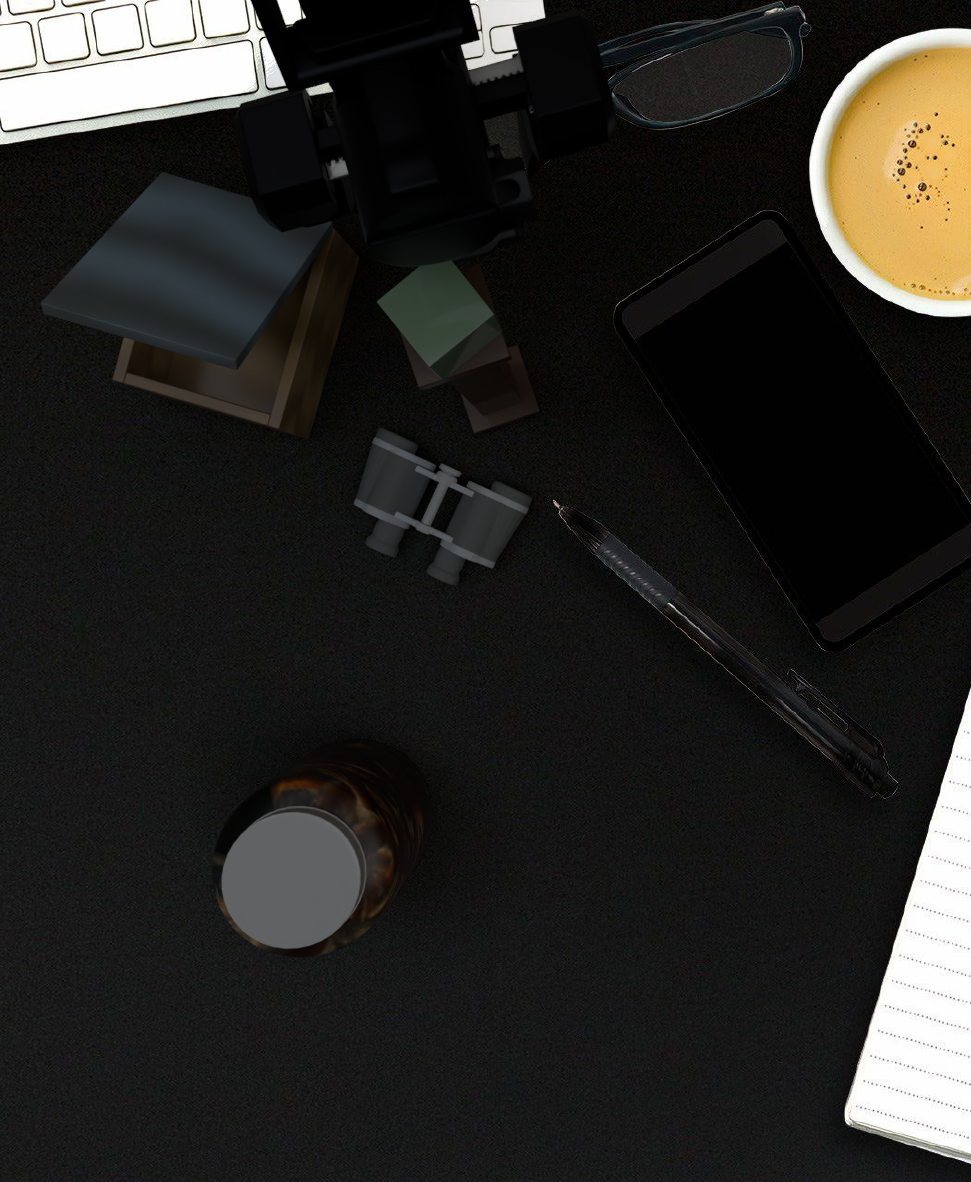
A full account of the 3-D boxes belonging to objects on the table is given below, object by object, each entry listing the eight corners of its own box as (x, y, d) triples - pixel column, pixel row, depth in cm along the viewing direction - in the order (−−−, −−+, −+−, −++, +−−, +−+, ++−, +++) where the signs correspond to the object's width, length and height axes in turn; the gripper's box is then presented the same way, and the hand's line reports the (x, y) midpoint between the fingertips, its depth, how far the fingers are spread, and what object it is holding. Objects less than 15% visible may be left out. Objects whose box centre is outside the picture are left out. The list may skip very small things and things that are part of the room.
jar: (296, 719, 77) (219, 759, 62) (450, 760, 77) (410, 810, 62) (257, 873, 78) (172, 950, 63) (410, 914, 78) (361, 1001, 63)
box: (308, 440, 76) (278, 429, 70) (156, 395, 77) (111, 380, 70) (360, 257, 76) (334, 228, 69) (206, 212, 76) (165, 179, 69)
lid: (237, 370, 60) (235, 360, 60) (43, 314, 60) (40, 302, 60) (333, 232, 69) (332, 221, 68) (163, 182, 69) (161, 171, 68)
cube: (393, 319, 54) (376, 301, 50) (454, 270, 54) (441, 247, 50) (442, 381, 54) (428, 367, 50) (503, 331, 54) (494, 314, 50)
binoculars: (535, 499, 76) (531, 496, 73) (489, 599, 77) (482, 601, 73) (384, 429, 76) (373, 423, 73) (339, 529, 77) (325, 528, 73)
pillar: (453, 369, 76) (386, 295, 54) (518, 346, 76) (478, 262, 54) (475, 435, 76) (418, 388, 54) (541, 412, 76) (510, 356, 54)
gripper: (233, 272, 46) (335, 363, 62) (644, 158, 46) (642, 279, 61) (174, 34, 47) (289, 183, 63) (579, -82, 46) (594, 98, 62)
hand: (454, 190), depth 62 cm, fingers open, 9 cm apart
